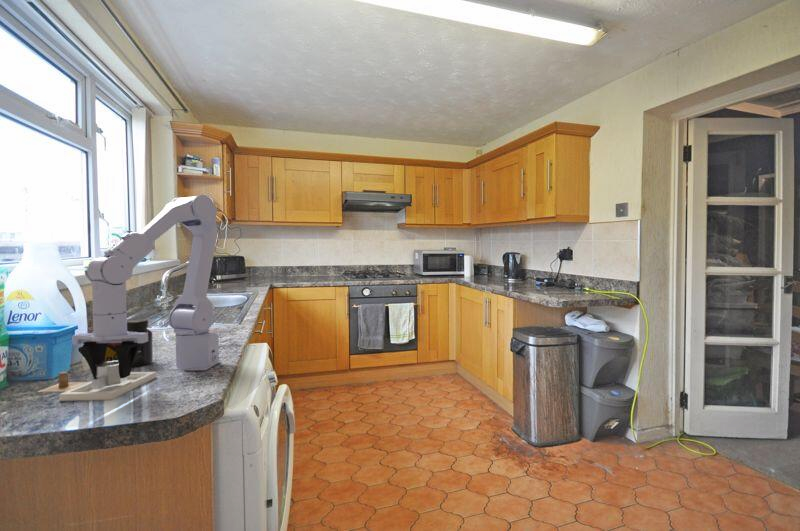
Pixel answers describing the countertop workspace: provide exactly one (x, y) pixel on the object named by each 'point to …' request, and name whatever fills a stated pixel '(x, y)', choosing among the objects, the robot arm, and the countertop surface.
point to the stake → (62, 384)
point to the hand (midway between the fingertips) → (111, 376)
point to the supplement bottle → (146, 350)
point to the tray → (107, 388)
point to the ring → (107, 375)
